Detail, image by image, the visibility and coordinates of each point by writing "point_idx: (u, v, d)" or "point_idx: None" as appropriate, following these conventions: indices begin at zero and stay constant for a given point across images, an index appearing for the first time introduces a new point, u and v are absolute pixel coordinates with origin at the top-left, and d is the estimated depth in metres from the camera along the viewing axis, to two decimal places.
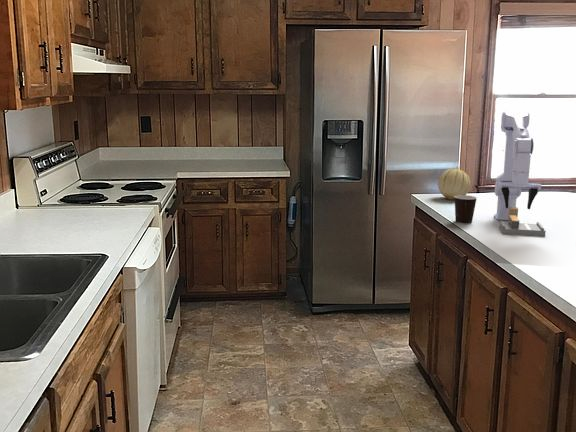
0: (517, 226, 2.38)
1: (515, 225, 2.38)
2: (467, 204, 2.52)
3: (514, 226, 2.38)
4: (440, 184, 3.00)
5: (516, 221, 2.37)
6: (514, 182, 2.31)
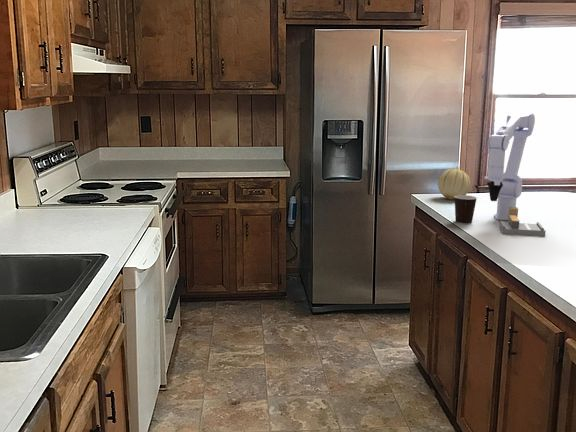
0: (517, 226, 2.38)
1: (515, 225, 2.38)
2: (467, 204, 2.52)
3: (514, 226, 2.38)
4: (440, 184, 3.00)
5: (516, 221, 2.37)
6: None
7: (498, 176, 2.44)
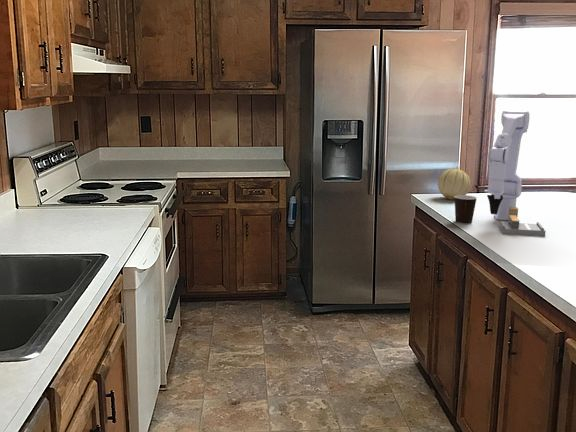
0: (517, 226, 2.38)
1: (515, 225, 2.38)
2: (467, 204, 2.52)
3: (514, 226, 2.38)
4: (440, 184, 3.00)
5: (516, 221, 2.37)
6: None
7: (498, 190, 2.42)
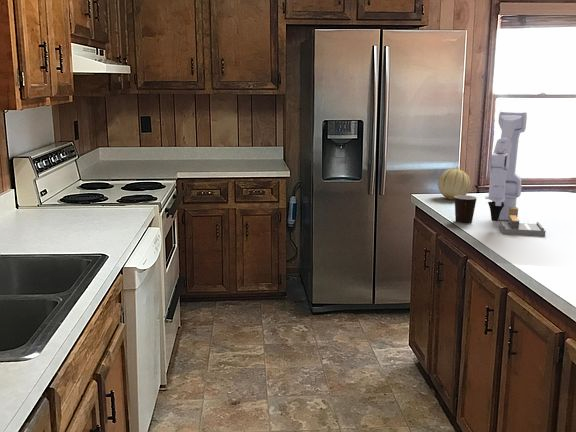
0: (517, 226, 2.38)
1: (515, 225, 2.38)
2: (467, 204, 2.52)
3: (514, 226, 2.38)
4: (440, 184, 3.00)
5: (516, 221, 2.37)
6: None
7: (499, 196, 2.38)
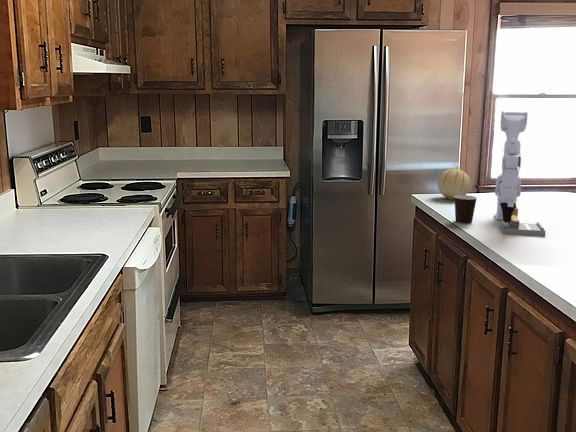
0: (517, 226, 2.38)
1: (515, 225, 2.38)
2: (467, 204, 2.52)
3: (514, 226, 2.38)
4: (440, 184, 3.00)
5: (516, 221, 2.37)
6: None
7: (511, 198, 2.37)
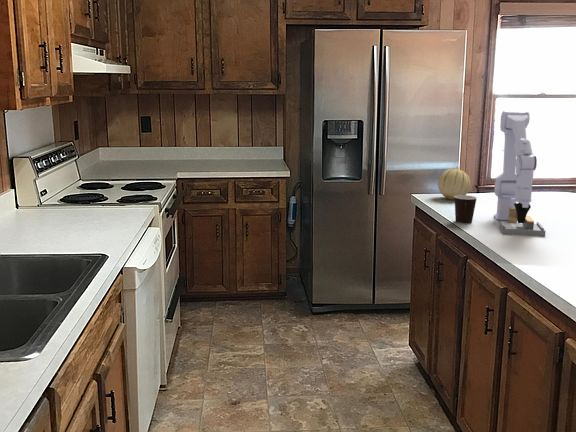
0: (532, 227, 2.37)
1: (530, 226, 2.37)
2: (467, 204, 2.52)
3: (529, 227, 2.37)
4: (440, 184, 3.00)
5: (531, 222, 2.36)
6: None
7: (526, 198, 2.36)
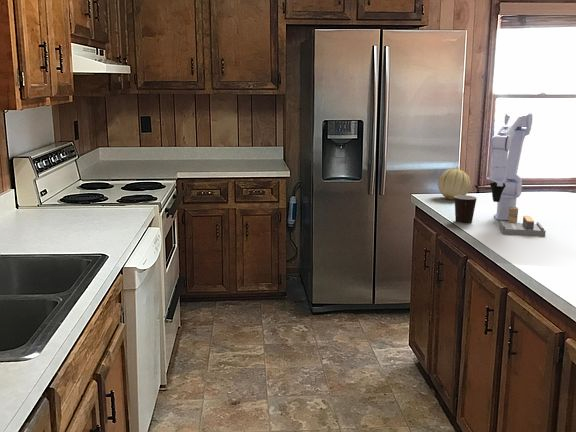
0: (532, 227, 2.37)
1: (530, 226, 2.37)
2: (467, 204, 2.52)
3: (529, 227, 2.37)
4: (440, 184, 3.00)
5: (531, 222, 2.36)
6: None
7: (500, 177, 2.43)
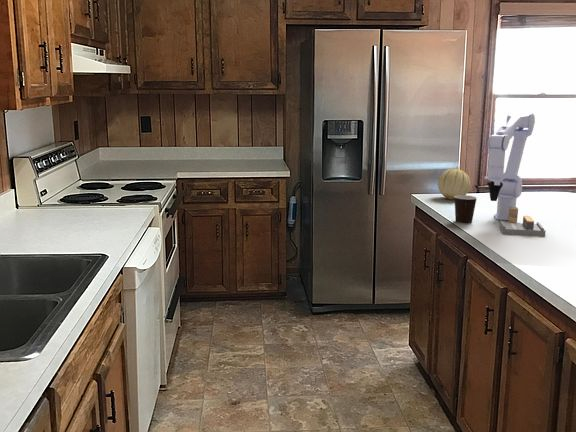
0: (532, 227, 2.37)
1: (530, 226, 2.37)
2: (467, 204, 2.52)
3: (529, 227, 2.37)
4: (440, 184, 3.00)
5: (531, 222, 2.36)
6: None
7: (498, 176, 2.44)
